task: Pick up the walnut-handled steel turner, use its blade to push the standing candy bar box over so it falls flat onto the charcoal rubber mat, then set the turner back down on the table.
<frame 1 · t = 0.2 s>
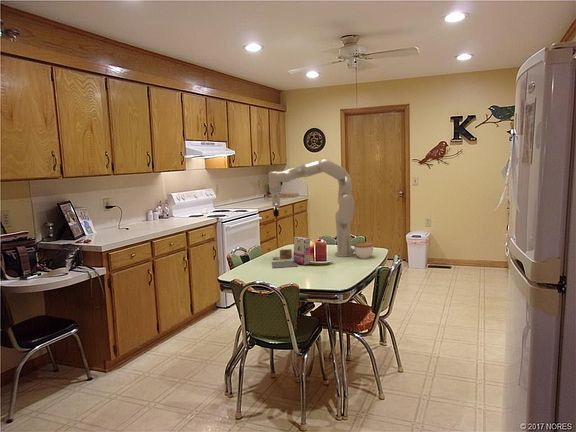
hand: (276, 215, 299), 30 cm above the table, tool pointing down, fingers open, 9 cm apart
charcoal mat: (284, 264, 286), on the table
candy bar box: (301, 263, 287), on the table, touching charcoal mat
turner: (286, 258, 304), on the table
lidded bowl: (364, 257, 295), on the table
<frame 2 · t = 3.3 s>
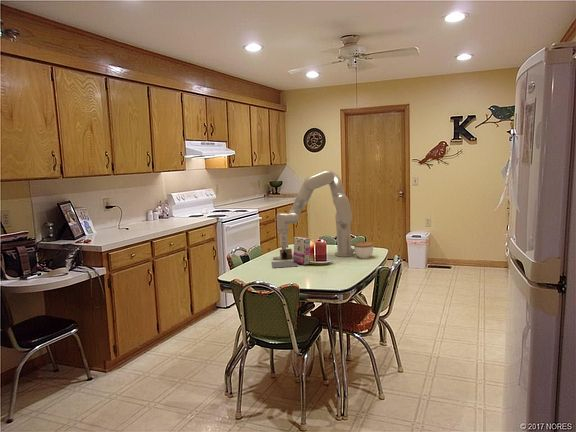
hand: (284, 257, 304), 1 cm above the table, tool pointing down, fingers closed on turner, 2 cm apart
turner: (286, 258, 304), on the table, touching gripper
everything else where it was.
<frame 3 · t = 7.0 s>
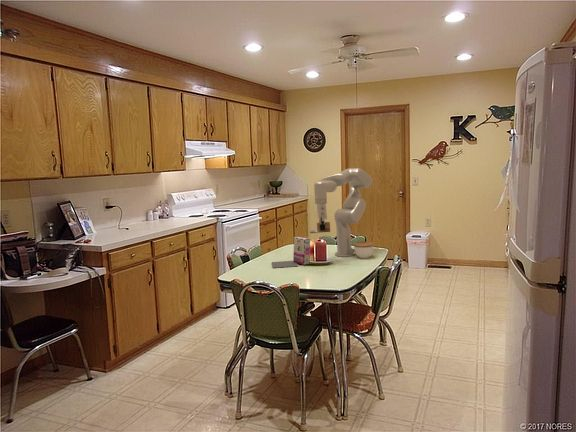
hand: (322, 229, 286), 21 cm above the table, tool pointing down, fingers closed on turner, 2 cm apart
turner: (323, 231, 286), point 20 cm above the table, touching gripper
everything else where it was.
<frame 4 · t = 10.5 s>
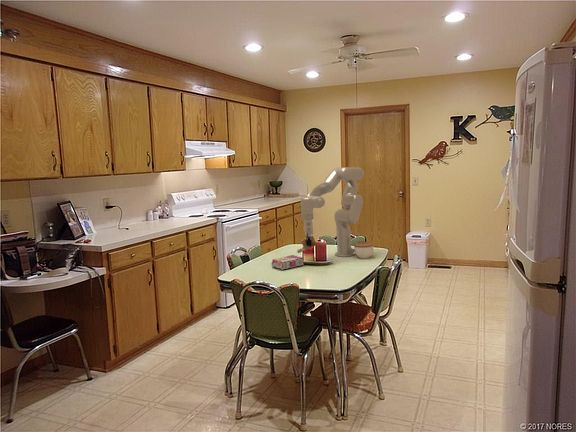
hand: (308, 245, 286), 12 cm above the table, tool pointing down, fingers closed on turner, 2 cm apart
candy bar box: (298, 259, 285), point 3 cm above the table, touching charcoal mat
turner: (310, 247, 286), point 10 cm above the table, tilted 19°, touching gripper
everything else where it was.
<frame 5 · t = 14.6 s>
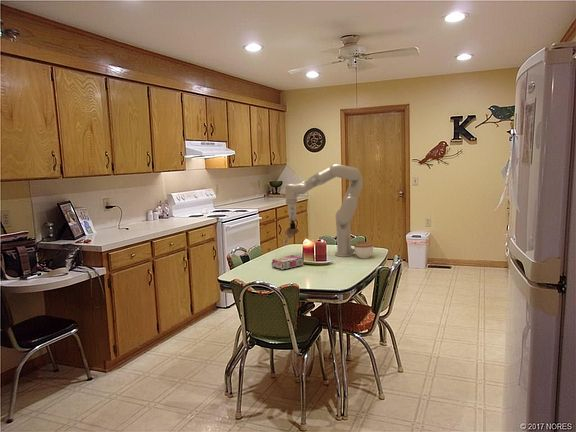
hand: (292, 228, 305), 20 cm above the table, tool pointing down, fingers closed on turner, 3 cm apart
turner: (294, 234, 306), point 16 cm above the table, tilted 37°, touching gripper
everything else where it was.
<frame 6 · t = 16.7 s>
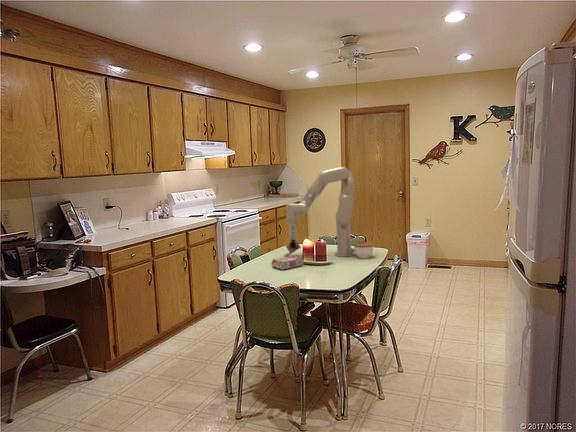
hand: (293, 247, 307), 7 cm above the table, tool pointing down, fingers closed on turner, 3 cm apart
turner: (295, 250, 307), point 5 cm above the table, tilted 31°, touching gripper
everything else where it was.
when the fingers open (2 cm above the table, at t = 18.3 s): turner stays where it is, on the table.
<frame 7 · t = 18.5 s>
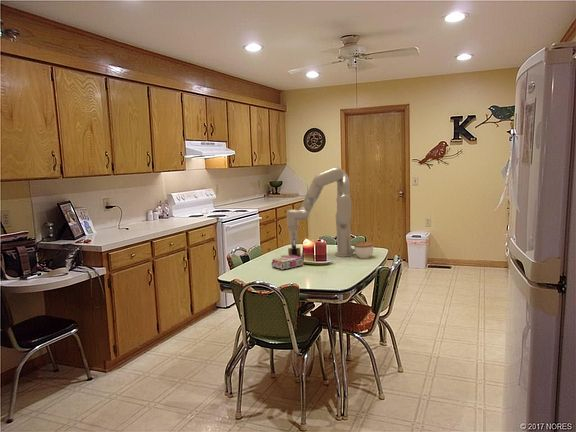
hand: (294, 253, 307), 2 cm above the table, tool pointing down, fingers open, 4 cm apart
turner: (294, 257, 308), on the table
everything else where it was.
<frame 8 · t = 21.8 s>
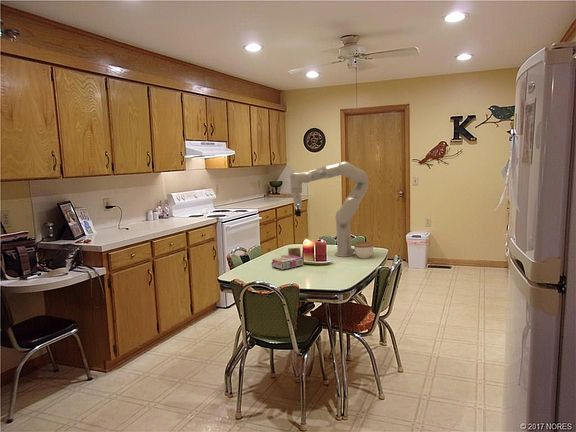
hand: (297, 215, 306), 28 cm above the table, tool pointing down, fingers open, 9 cm apart
nothing on the table moved.
at the end: candy bar box tilted 91°; candy bar box inside the target area (3.4 cm from its centre), point 3.1 cm above the table; turner inside the target area (0.5 cm from its centre), on the table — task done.
